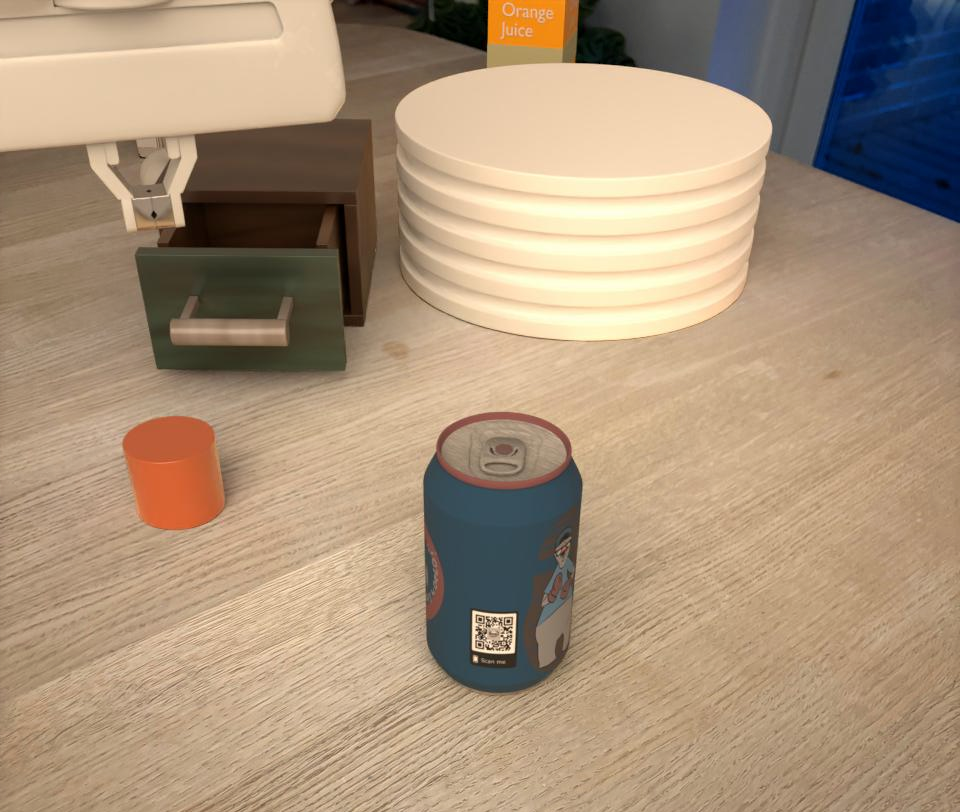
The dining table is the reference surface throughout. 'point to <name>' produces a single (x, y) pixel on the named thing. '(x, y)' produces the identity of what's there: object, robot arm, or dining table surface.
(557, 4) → the orange juice
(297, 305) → the drawer
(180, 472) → the orange cylinder block
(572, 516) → the soda can
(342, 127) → the cabinet
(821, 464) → the dining table surface
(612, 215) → the plate stack
